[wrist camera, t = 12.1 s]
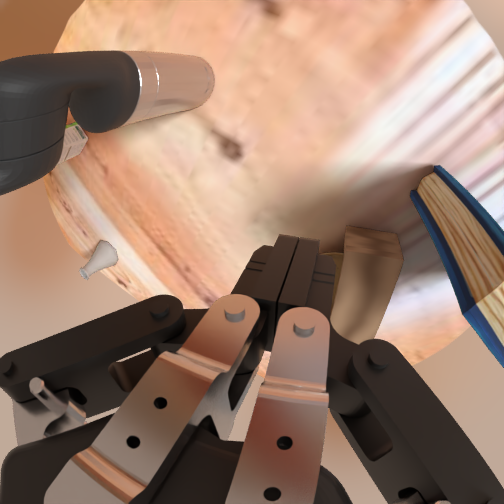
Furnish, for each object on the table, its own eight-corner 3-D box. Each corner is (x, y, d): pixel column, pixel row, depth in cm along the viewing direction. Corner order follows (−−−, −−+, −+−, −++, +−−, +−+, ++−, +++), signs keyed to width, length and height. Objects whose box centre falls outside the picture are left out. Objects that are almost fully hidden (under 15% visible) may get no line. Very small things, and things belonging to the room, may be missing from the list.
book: (500, 250, 33) (556, 360, 13) (474, 274, 37) (515, 391, 18) (436, 161, 31) (525, 255, 11) (406, 193, 36) (457, 313, 16)
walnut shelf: (326, 321, 54) (321, 350, 48) (346, 225, 42) (345, 250, 36) (366, 328, 51) (365, 356, 46) (396, 234, 39) (403, 260, 33)
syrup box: (89, 138, 47) (36, 160, 36) (79, 155, 50) (30, 179, 39) (77, 120, 46) (24, 140, 34) (68, 138, 49) (19, 159, 37)
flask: (99, 235, 62) (72, 256, 54) (119, 248, 62) (93, 271, 54) (99, 255, 67) (75, 276, 59) (118, 268, 66) (95, 291, 58)
